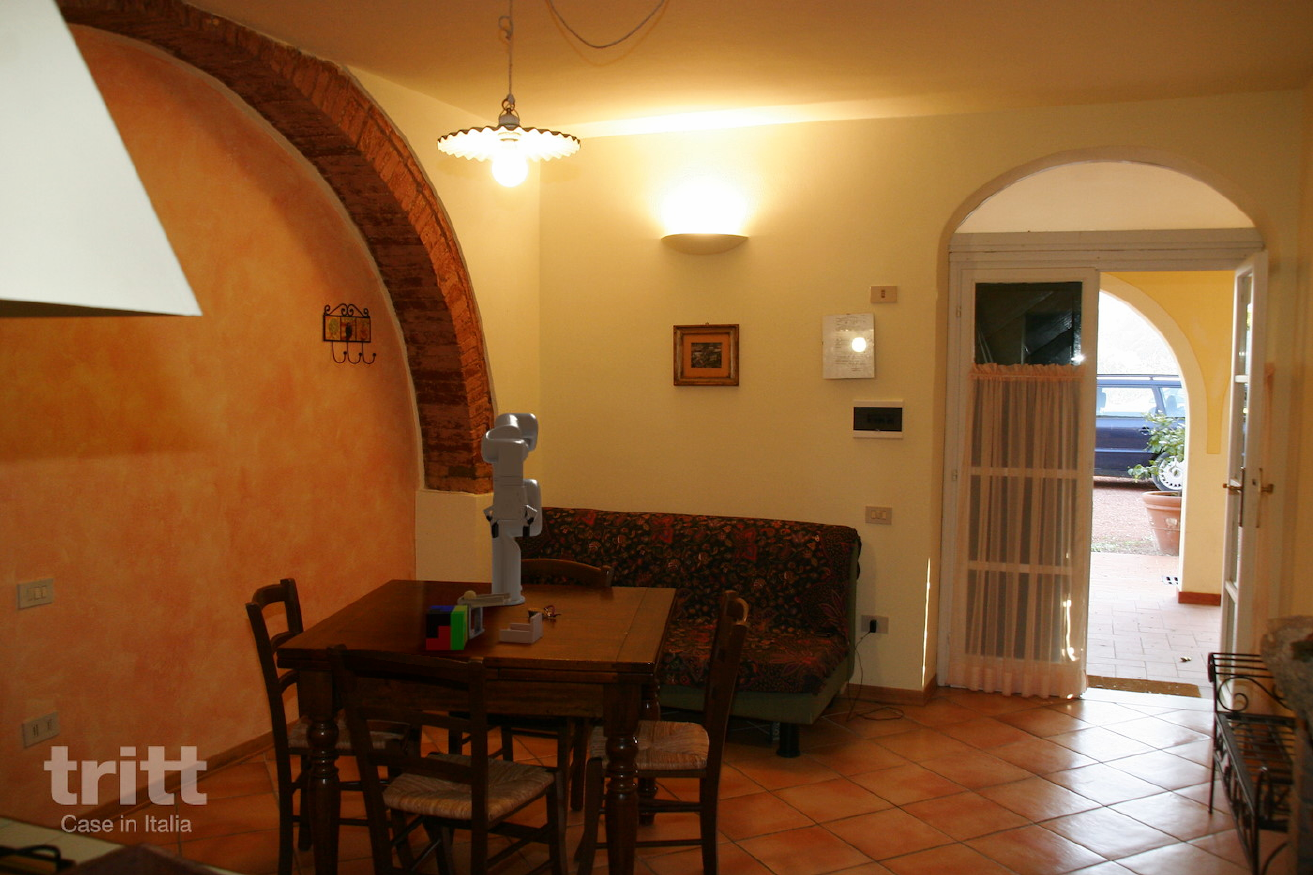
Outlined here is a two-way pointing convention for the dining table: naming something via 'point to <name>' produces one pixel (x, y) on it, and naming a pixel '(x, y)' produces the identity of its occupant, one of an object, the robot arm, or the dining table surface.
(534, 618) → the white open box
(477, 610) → the stand
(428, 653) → the dining table surface
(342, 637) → the dining table surface
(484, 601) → the lever
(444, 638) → the puzzle toy
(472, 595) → the ball
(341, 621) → the dining table surface
